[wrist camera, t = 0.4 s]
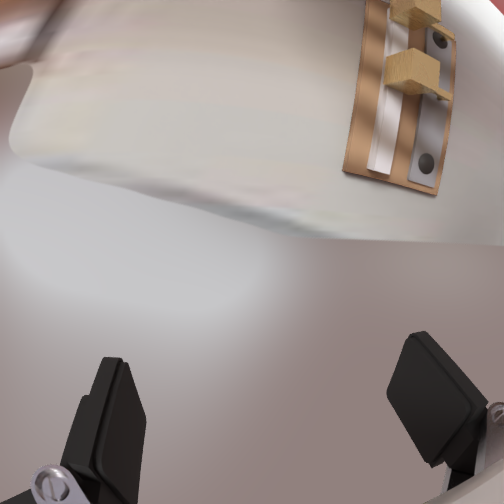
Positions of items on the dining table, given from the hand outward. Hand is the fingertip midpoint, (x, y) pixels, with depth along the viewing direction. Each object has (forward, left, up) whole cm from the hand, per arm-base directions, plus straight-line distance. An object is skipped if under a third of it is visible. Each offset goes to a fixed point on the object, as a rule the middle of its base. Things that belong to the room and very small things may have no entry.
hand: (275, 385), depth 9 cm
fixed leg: (-30, +21, -27) cm, 45 cm away
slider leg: (-20, +21, -27) cm, 40 cm away
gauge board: (-19, +22, -30) cm, 41 cm away
